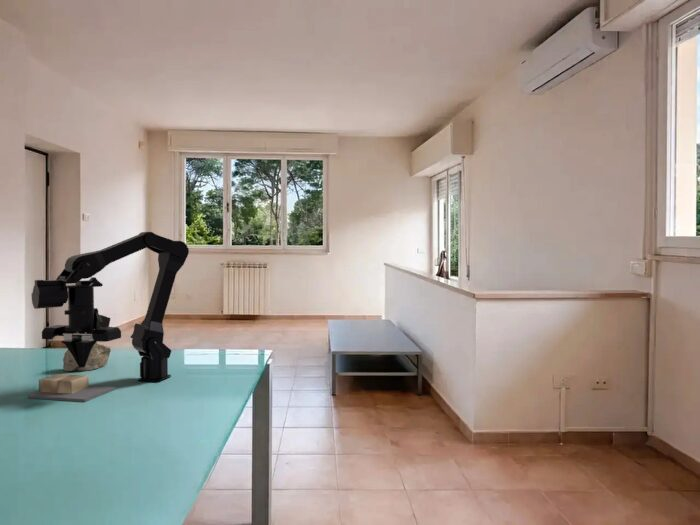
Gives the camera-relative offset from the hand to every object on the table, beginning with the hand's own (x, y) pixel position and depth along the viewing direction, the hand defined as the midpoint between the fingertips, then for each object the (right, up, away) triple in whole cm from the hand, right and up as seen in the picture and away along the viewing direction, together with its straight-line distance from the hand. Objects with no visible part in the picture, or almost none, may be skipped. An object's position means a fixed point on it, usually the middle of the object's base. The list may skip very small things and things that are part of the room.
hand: (82, 367), depth 129 cm
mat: (-2, -7, 0) cm, 7 cm away
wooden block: (-1, -4, 0) cm, 4 cm away
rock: (-12, -6, +26) cm, 29 cm away
